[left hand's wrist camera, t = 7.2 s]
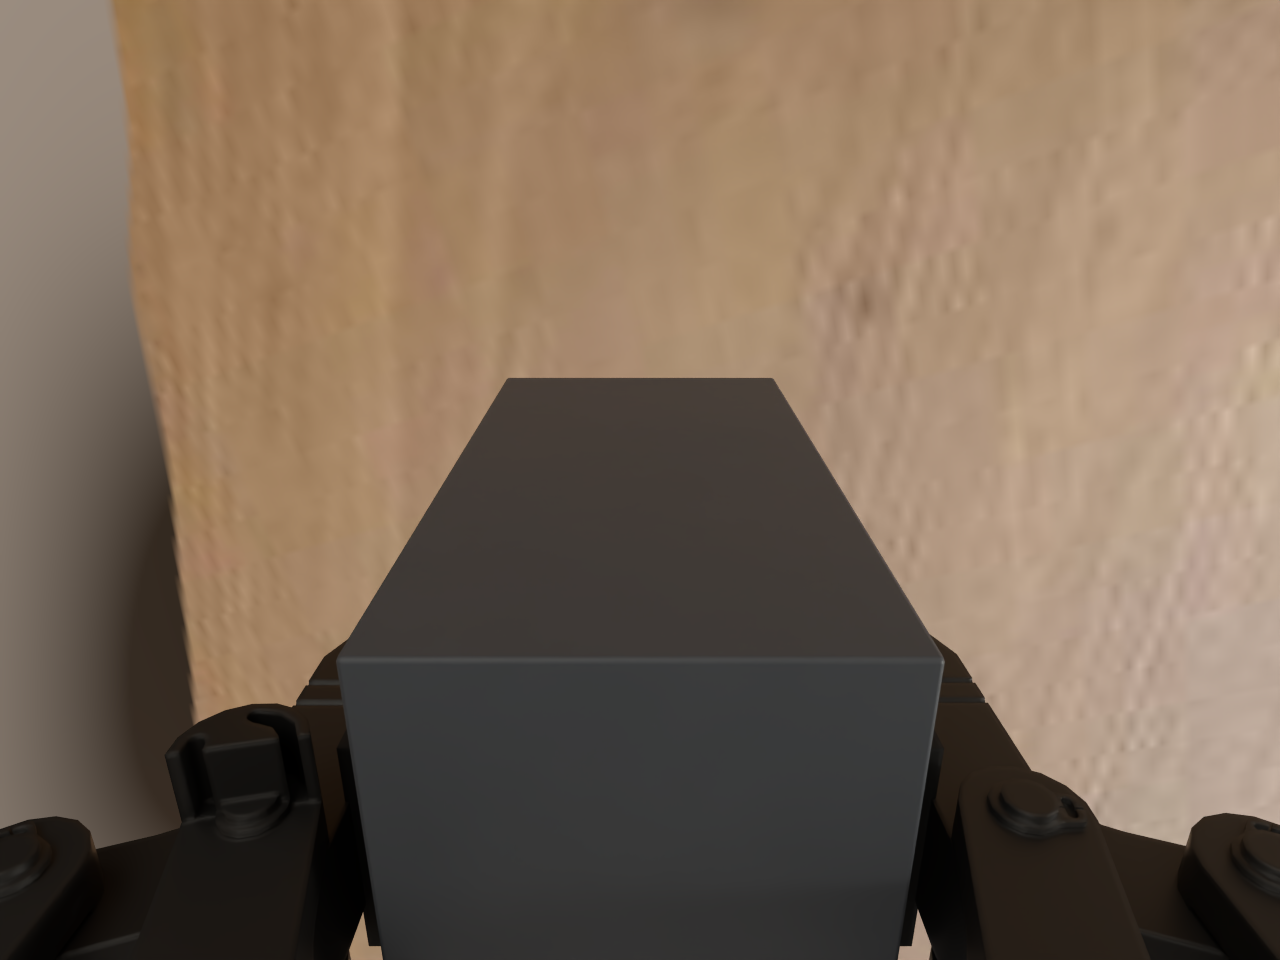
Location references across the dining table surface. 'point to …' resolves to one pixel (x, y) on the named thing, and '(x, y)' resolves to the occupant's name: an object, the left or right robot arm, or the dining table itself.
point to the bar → (640, 692)
